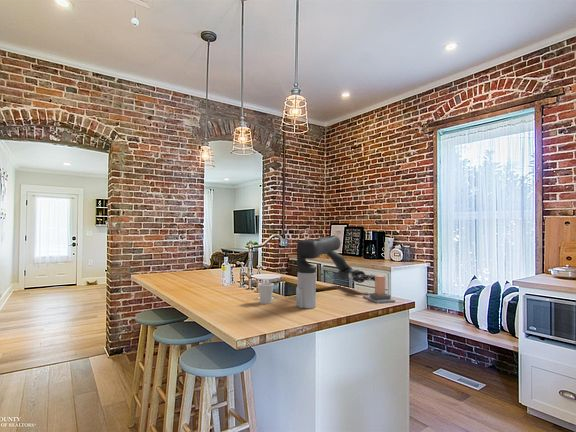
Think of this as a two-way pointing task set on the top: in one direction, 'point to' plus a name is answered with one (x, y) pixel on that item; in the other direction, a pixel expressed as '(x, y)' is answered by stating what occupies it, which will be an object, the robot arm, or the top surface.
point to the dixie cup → (265, 292)
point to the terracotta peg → (379, 285)
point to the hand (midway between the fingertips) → (370, 279)
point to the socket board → (379, 298)
